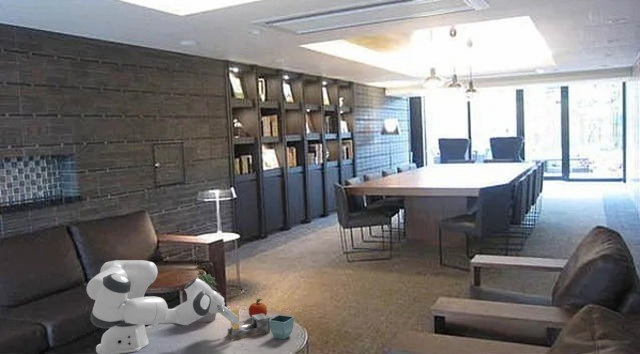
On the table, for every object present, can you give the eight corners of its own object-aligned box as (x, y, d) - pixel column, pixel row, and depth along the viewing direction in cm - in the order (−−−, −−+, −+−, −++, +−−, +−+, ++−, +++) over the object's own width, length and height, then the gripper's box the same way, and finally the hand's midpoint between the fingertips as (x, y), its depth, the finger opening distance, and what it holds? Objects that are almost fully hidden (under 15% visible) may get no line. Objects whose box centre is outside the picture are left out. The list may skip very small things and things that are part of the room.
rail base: (233, 339, 257) (232, 324, 256) (227, 334, 264) (227, 319, 263) (270, 332, 266) (269, 317, 265) (263, 327, 273) (263, 313, 272)
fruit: (244, 319, 286) (244, 300, 285) (257, 314, 293) (257, 296, 293) (258, 323, 280) (257, 303, 279) (271, 318, 287) (270, 299, 287)
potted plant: (206, 328, 274) (204, 278, 272) (180, 321, 285) (178, 273, 284) (232, 318, 288) (231, 271, 286) (207, 312, 300) (205, 266, 298)
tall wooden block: (233, 335, 259) (232, 310, 259) (231, 333, 262) (230, 308, 261) (253, 331, 264) (252, 307, 264) (250, 329, 267) (250, 305, 266)
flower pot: (268, 339, 257) (268, 319, 257) (278, 332, 265) (278, 314, 264) (285, 341, 253) (284, 322, 253) (294, 335, 261) (294, 316, 260)
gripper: (226, 303, 247) (248, 321, 253) (212, 292, 265) (232, 309, 271) (217, 314, 246) (239, 332, 251) (203, 303, 263) (224, 320, 269)
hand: (235, 320), depth 261 cm, fingers open, 8 cm apart
